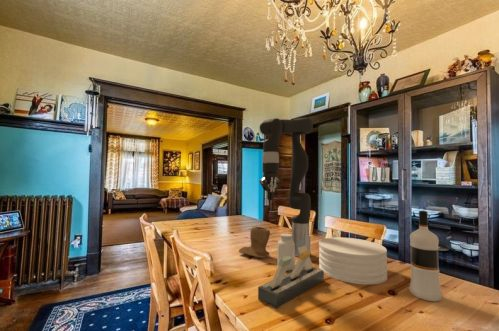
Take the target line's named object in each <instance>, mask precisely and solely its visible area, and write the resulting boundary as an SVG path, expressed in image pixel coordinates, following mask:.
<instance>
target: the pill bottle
mask: <svg viewBox="0 0 499 331" xmlns="http://www.w3.org/2000/svg"><path fill="white" fill-rule="evenodd" d="M276 248H277V255H276V256H277V259H276V260H277V267H278V266H279V262H280V260H281V258H284V257H286V256H290V257H291V258H292V260H291V262H290V264H289V265H288V268H287V270H286V272H289V271H290V272H291V271H293V269H294V267H295V265H296V264H295V263H296V256H295V243H294V242H293V241H292V233H281V234H280V240H278V241H277V247H276Z"/></svg>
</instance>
